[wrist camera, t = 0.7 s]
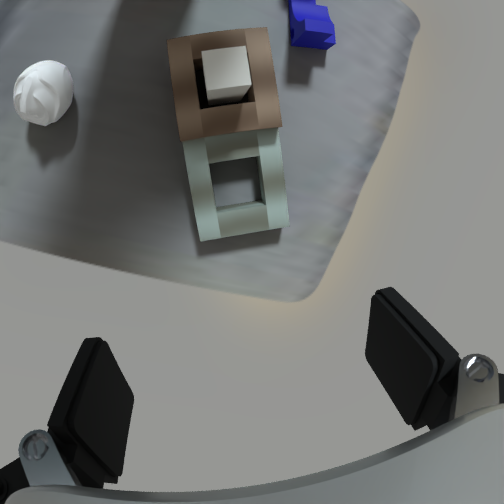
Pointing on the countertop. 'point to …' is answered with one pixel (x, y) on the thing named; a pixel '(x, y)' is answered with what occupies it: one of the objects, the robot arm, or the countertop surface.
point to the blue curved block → (310, 25)
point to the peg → (226, 74)
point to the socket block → (230, 133)
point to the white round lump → (43, 92)
